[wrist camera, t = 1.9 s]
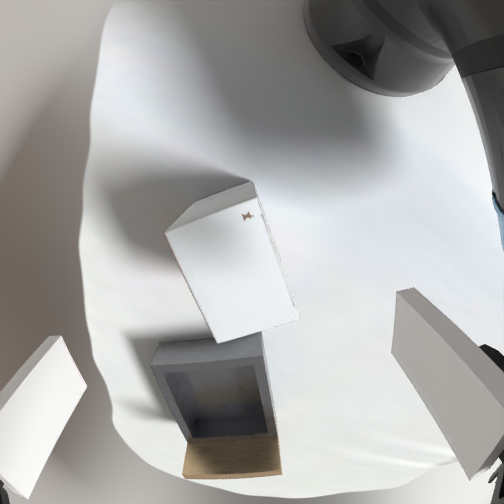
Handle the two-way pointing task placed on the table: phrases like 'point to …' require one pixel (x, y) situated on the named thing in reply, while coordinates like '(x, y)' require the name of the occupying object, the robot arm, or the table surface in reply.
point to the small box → (232, 264)
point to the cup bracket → (221, 406)
